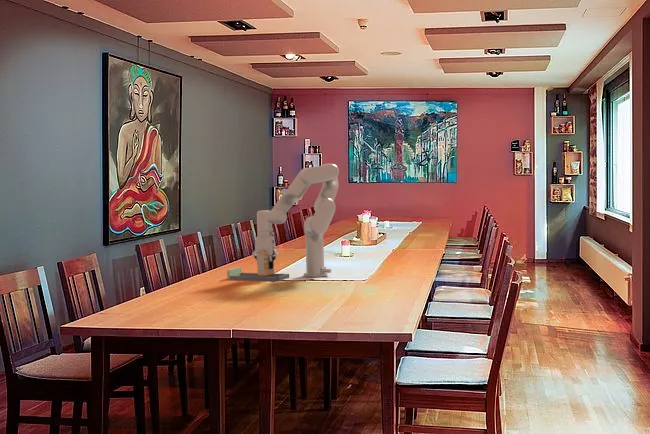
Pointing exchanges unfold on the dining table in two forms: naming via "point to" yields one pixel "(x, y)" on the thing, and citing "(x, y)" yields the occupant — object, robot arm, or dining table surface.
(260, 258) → the supplement box
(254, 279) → the trap channel
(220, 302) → the dining table surface
